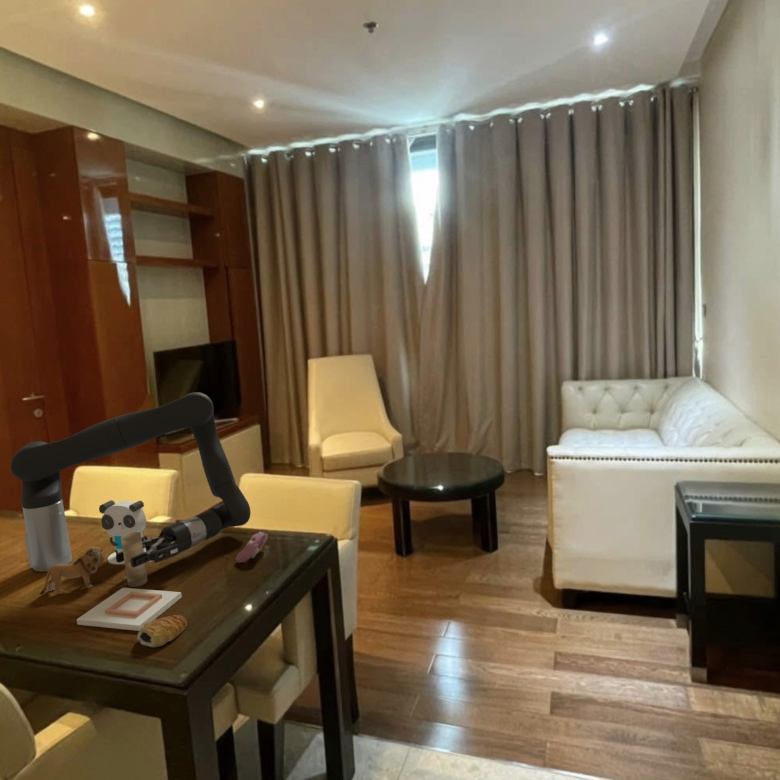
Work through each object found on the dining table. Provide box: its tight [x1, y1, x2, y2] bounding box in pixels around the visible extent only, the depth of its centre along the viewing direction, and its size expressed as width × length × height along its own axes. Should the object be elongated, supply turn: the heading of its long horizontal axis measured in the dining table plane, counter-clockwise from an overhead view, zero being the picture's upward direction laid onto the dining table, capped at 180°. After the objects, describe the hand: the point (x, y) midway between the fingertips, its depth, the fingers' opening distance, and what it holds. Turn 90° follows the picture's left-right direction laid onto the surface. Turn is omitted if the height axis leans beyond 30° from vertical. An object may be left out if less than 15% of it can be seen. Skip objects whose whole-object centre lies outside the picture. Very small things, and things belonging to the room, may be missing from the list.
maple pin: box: [121, 532, 149, 588], centre depth 144 cm, size 4×4×12 cm
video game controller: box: [235, 531, 269, 564], centre depth 155 cm, size 10×5×7 cm, turn 169°
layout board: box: [76, 587, 183, 632], centre depth 131 cm, size 16×14×2 cm
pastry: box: [136, 614, 188, 648], centre depth 120 cm, size 9×7×4 cm
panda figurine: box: [98, 499, 147, 565], centre depth 161 cm, size 12×11×15 cm
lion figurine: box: [39, 546, 105, 595], centre depth 144 cm, size 15×5×9 cm, turn 117°
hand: (124, 560), depth 142 cm, fingers open, 5 cm apart
